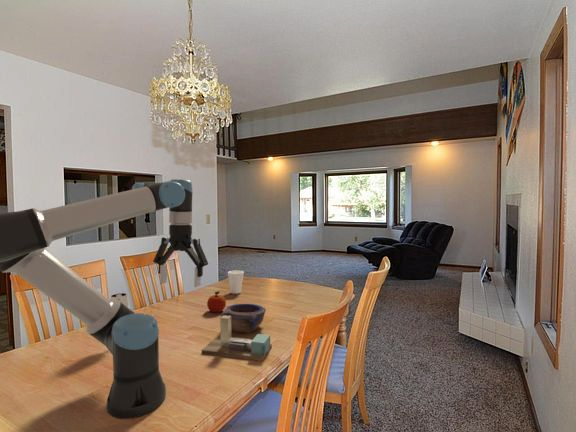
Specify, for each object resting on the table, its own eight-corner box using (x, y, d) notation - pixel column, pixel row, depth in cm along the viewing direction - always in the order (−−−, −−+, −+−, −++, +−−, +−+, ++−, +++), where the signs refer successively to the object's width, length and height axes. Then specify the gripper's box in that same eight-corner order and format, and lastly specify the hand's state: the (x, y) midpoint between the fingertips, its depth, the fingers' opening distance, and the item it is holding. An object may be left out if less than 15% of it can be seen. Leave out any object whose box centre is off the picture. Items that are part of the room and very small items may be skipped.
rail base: (262, 360, 114) (262, 351, 114) (201, 353, 120) (201, 343, 120) (271, 347, 124) (271, 338, 124) (215, 340, 130) (215, 332, 130)
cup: (247, 292, 201) (247, 271, 201) (236, 296, 193) (236, 274, 192) (235, 289, 207) (235, 269, 206) (224, 293, 198) (224, 272, 198)
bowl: (270, 323, 149) (270, 302, 148) (256, 339, 132) (256, 315, 131) (235, 319, 154) (234, 299, 153) (217, 334, 136) (216, 311, 136)
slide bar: (262, 351, 118) (262, 321, 118) (220, 346, 122) (220, 317, 122) (264, 348, 121) (264, 319, 120) (223, 343, 125) (223, 315, 124)
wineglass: (106, 350, 122) (105, 298, 121) (111, 341, 130) (110, 293, 129) (128, 348, 124) (127, 297, 123) (132, 339, 132) (131, 291, 131)
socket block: (264, 355, 116) (264, 343, 115) (251, 353, 117) (251, 341, 117) (270, 346, 122) (270, 335, 122) (257, 345, 124) (257, 333, 123)
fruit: (203, 313, 162) (203, 294, 162) (212, 307, 172) (212, 289, 171) (221, 315, 160) (220, 295, 160) (228, 309, 169) (228, 290, 169)
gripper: (218, 224, 112) (217, 284, 113) (157, 222, 119) (156, 279, 119) (207, 225, 105) (206, 289, 106) (142, 223, 111) (142, 284, 112)
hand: (180, 284), depth 112 cm, fingers open, 13 cm apart
